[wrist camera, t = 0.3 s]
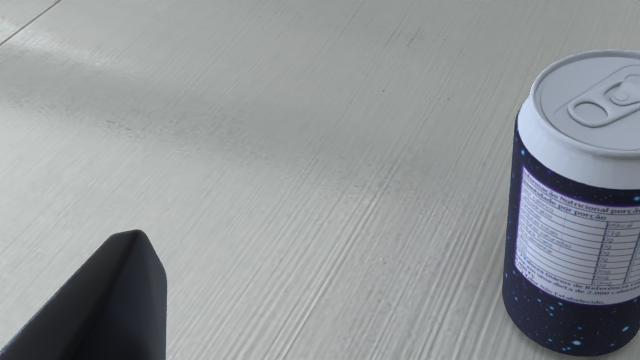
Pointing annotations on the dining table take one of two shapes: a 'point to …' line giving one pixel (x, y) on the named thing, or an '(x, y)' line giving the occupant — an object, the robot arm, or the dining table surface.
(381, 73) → the dining table surface
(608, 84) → the beverage can
